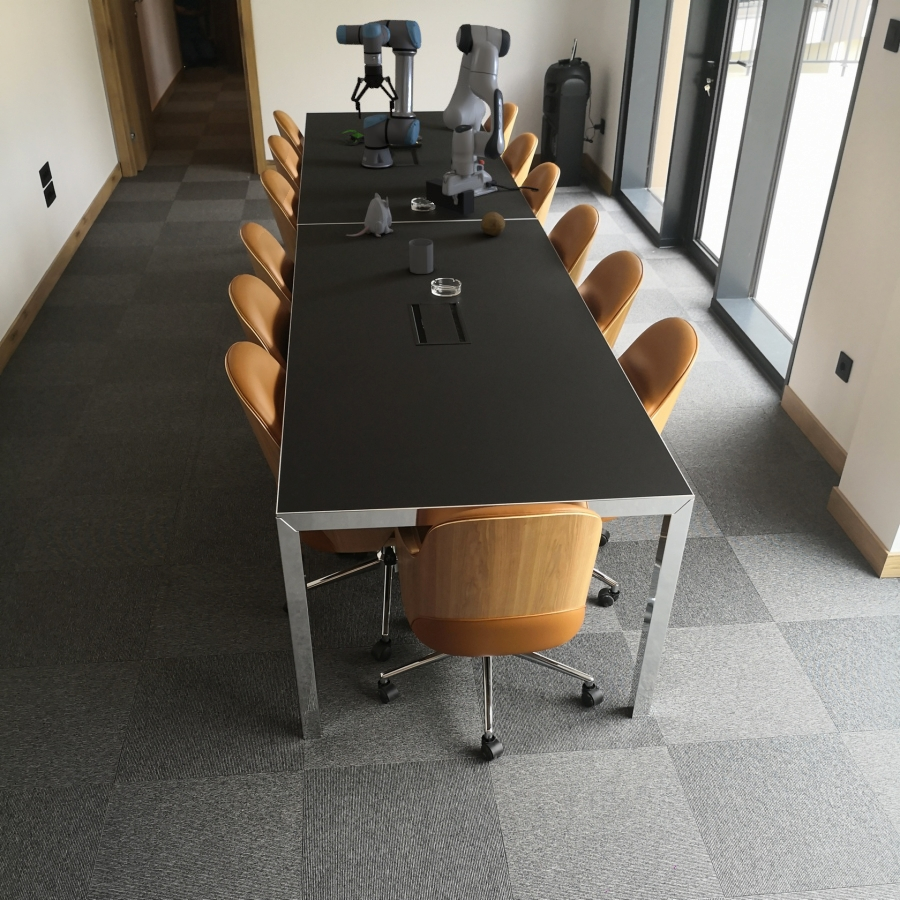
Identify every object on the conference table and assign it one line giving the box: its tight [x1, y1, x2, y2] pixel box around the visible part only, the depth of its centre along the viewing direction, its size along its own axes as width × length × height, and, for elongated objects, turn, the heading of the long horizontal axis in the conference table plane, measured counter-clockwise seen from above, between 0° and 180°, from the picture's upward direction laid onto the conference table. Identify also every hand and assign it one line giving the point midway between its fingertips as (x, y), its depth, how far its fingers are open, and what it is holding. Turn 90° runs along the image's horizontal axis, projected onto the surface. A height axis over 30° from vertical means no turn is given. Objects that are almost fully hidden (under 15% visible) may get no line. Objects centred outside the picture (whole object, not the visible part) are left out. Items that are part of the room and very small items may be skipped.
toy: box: [346, 192, 394, 238], centre depth 334 cm, size 9×24×15 cm, turn 137°
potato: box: [480, 211, 506, 237], centre depth 338 cm, size 10×14×8 cm
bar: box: [425, 178, 475, 216], centre depth 362 cm, size 24×6×9 cm, turn 41°
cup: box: [408, 237, 434, 275], centre depth 305 cm, size 8×8×10 cm
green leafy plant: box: [340, 129, 365, 146], centre depth 465 cm, size 6×13×30 cm
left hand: (375, 117), depth 374 cm, fingers open, 13 cm apart
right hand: (463, 202), depth 357 cm, fingers closed on bar, 6 cm apart
